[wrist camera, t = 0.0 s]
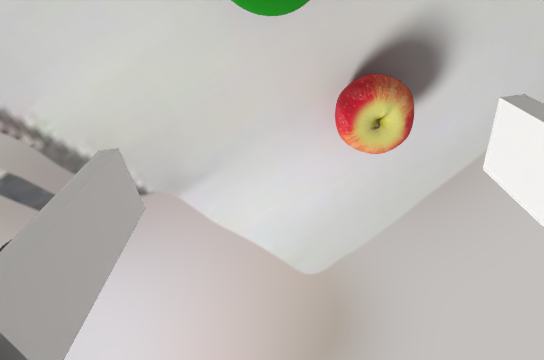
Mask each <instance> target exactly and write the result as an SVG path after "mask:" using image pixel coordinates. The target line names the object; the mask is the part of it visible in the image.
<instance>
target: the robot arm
mask: <svg viewBox="0 0 544 360" xmlns="http://www.w3.org/2000/svg"><path fill="white" fill-rule="evenodd" d="M483 170H484V171H485V172H486V173H487V174H488V175H489V176H490V177H492V178H493V179H494V180H495V181H496V182H497V183H498V184H499V185H500V186H501V187H502V188H503V189H504V190H505V191H506V192H507V193H508V194H509V195H510V196H512V198H514V199H515V200H516V201H517V202H518V203H519V204H520V205H521V206H522V207H523V208H524V209H525V210H526V211H527V212H528V213H529V214H530V215H532V217H534V218H535V219H536V220H537V221H538V222H539V223H540V224H541V225H542V226H543V227H544V104H543V103H541V102H539V101H537V100H535V99H533V98H531V97H529V96H527V95H525V94H523V95H515V96H508V97H500V98H499V103H498V107H497V111H496V115H495V120H494V124H493V128H492V132H491V136H490V141H489V145H488V149H487V153H486V157H485V162H484V166H483ZM144 210H145V207H144V204H143V202H142V200H141V198H140V195H139V193H138V191H137V189H136V186H135V184H134V182H133V180H132V177H131V175H130V173H129V171H128V169H127V166H126V164H125V162H124V160H123V157H122V155H121V153H120V151H119V148H118V149H110V150H103V151H98V152H97V153H96V154H95V155H94V156H93V157H92V158H91V159H90V160H89V161H88V162H87V163H86V164H85V165H84V166H83V167H82V168H81V169H80V170H79V171H78V172H77V174H76V175H75V176H74V177H73V178H72V179H71V180H70V181H69V182H68V183H67V184H66V185H65V186H64V187H63V188H62V189H61V190H60V191H59V192H58V193H57V194H56V195H55V196H54V197H53V198H52V199H51V200H50V201H49V202H48V203H47V204H46V205H45V206H44V207H43V208H42V209H41V210H40V212H39V213H38V214H37V215H36V216H35V217H34V218H33V219H32V220H31V221H30V222H29V223H28V224H27V225H26V226H25V227H24V228H23V229H22V230H21V231H20V232H19V233H18V234H17V235H16V236H15V237H14V238H13V239H12V240H10V241H9V242H8V243H6V244H5V245H3V246H2V247H1V248H0V360H64V358H65V356H66V354H67V353H68V351H69V349H70V347H71V345H72V343H73V342H74V339H75V338H76V336H77V334H78V332H79V330H80V329H81V327H82V325H83V323H84V321H85V319H86V317H87V316H88V314H89V312H90V310H91V308H92V306H93V305H94V303H95V301H96V299H97V297H98V295H99V293H100V291H101V290H102V288H103V286H104V284H105V282H106V280H107V279H108V276H109V275H110V273H111V271H112V269H113V267H114V266H115V264H116V262H117V260H118V258H119V256H120V255H121V252H122V251H123V249H124V247H125V245H126V243H127V242H128V240H129V238H130V236H131V234H132V232H133V231H134V229H135V227H136V225H137V223H138V221H139V219H140V217H141V216H142V214H143V212H144Z"/></svg>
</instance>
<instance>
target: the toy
mask: <svg viewBox="0 0 544 360" xmlns="http://www.w3.org/2000/svg"><path fill="white" fill-rule="evenodd" d="M232 1H233V2H234V3H236V4H237V5H238V6H240V7H242V8H243V9H245V10H247V11H249V12H252V13H255V14H258V15H265V16H279V15H284V14H288V13H290V12H293V11H295V10H297V9H299V8H300V7H302V6H303V5H305V4H306V3H307V2H308V1H309V0H232Z"/></svg>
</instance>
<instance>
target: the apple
mask: <svg viewBox="0 0 544 360" xmlns="http://www.w3.org/2000/svg"><path fill="white" fill-rule="evenodd" d="M335 119H336V126H337V130H338V132H339V135H340V136H341V138H342V139H343V140H344V141H345V142H346V143H347V144H348V145H350V146H351V147H353V148H355V149H357V150H359V151H362V152H365V153H371V154H380V153H384V152H387V151H390V150H392V149H394V148H395V147H397V146H398V145H400V144H401V143H402V142H403V141H404V140H405V139H406V138H407V137H408V135H409V133H410V131H411V128H412V125H413V119H414V102H413V97H412V94H411V92H410V90H409V89H408V88H407V87H406V86H405V85H404V84H403V83H402V82H400V81H399V80H397V79H395V78H393V77H391V76H388V75H384V74H369V75H365V76H363V77H360V78H358V79H357V80H355V81H353V82H352V83H351V84H349V85H348V86H347V87H346V88H345V89H344V90H343V91H342V92H341V94H340V95H339V98H338V100H337V104H336V111H335Z"/></svg>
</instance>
